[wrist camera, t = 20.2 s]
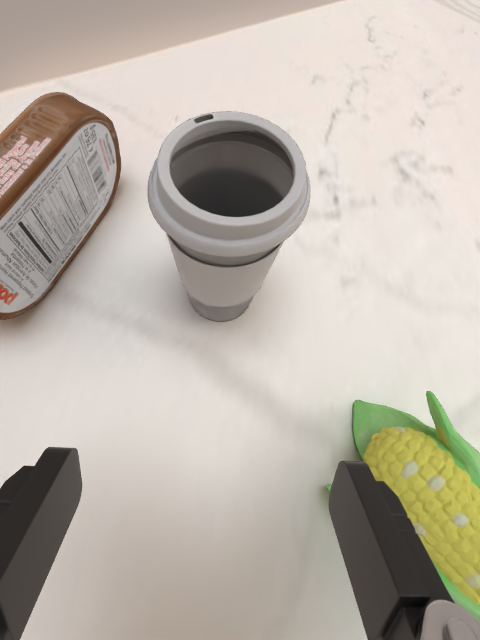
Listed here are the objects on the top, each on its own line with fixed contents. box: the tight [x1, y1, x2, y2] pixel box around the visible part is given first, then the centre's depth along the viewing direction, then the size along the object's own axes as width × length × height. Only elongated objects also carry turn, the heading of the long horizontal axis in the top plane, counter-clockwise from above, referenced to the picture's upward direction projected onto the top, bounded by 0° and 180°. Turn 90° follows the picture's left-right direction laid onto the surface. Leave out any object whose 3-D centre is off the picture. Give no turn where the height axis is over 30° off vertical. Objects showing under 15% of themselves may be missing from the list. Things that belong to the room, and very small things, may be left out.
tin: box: [0, 92, 121, 320], centre depth 20 cm, size 15×3×8 cm, turn 157°
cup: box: [148, 111, 310, 321], centre depth 19 cm, size 7×7×12 cm
